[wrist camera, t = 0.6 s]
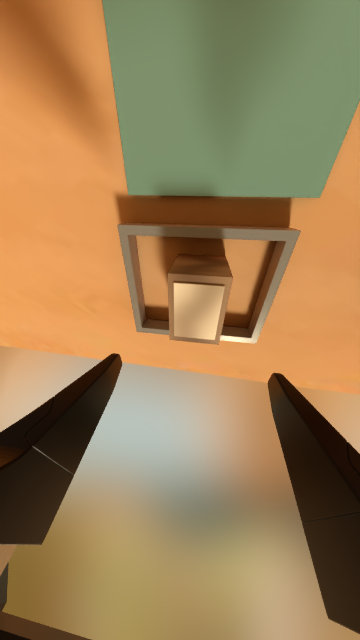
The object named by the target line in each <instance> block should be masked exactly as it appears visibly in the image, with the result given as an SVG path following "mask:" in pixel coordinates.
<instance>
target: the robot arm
mask: <svg viewBox="0 0 360 640" xmlns="http://www.w3.org/2000/svg"><path fill="white" fill-rule="evenodd" d="M121 367H122V361H121V357H120V355H119V354H115V353H113V354H111V355H109V356H108V357H107V358H105V359H104V360H103V361H102V362H100V363H99V364H97V365H96V366H94V367H93V368H92V369H91V370H89V371H88V372H86V373H85V374H84V375H82V376H81V377H80V378H78V379H77V380H75V381H74V382H73V383H71V384H70V385H69V386H67V387H66V388H64V389H63V390H62V391H60V392H59V393H58V394H56V395H55V397H52V398H51V399H49V400H48V401H47V402H45V403H44V404H43V405H41V406H40V407H38V408H37V409H35V410H34V411H32V412H31V413H29V414H28V415H26V416H25V417H23V418H22V419H20V420H19V421H17V422H16V423H14V424H13V425H11V426H9V427H8V428H6V429H5V430H3V431H2V432H0V640H91V639H87V638H84V637H81V636H77V635H74V634H71V633H68V632H65V631H62V630H58V629H55V628H52V627H49V626H46V625H43V624H40V623H36V622H33V621H30V620H27V619H23V618H20V617H17V616H14V615H11V614H8V613H4V612H2V610H3V608H4V606H5V604H6V602H7V582H8V581H7V580H8V561H9V559H10V557H11V556H12V554H13V552H14V550H15V549H16V547H17V545H41V544H42V543H43V541H44V539H45V537H46V535H47V533H48V531H49V528H50V526H51V524H52V522H53V520H54V517H55V515H56V513H57V511H58V509H59V507H60V505H61V502H62V500H63V498H64V496H65V494H66V491H67V489H68V487H69V485H70V483H71V481H72V479H73V477H74V474H75V472H76V470H77V468H78V465H79V464H80V461H81V459H82V457H83V455H84V453H85V450H86V448H87V446H88V444H89V442H90V440H91V437H92V435H93V433H94V431H95V429H96V427H97V425H98V423H99V420H100V418H101V416H102V414H103V412H104V410H105V407H106V405H107V403H108V401H109V399H110V397H111V395H112V392H113V390H114V387H115V384H116V382H117V379H118V376H119V373H120V370H121ZM268 389H269V395H270V402H271V408H272V413H273V418H274V421H275V425H276V429H277V432H278V436H279V439H280V443H281V447H282V451H283V454H284V458H285V461H286V465H287V469H288V473H289V476H290V480H291V484H292V487H293V491H294V495H295V499H296V502H297V506H298V510H299V513H300V517H301V520H302V522H303V523H302V525H303V528H304V532H305V536H306V539H307V542H308V547H309V550H310V554H311V558H312V561H313V565H314V569H315V573H316V576H317V580H318V583H319V587H320V591H321V595H322V598H323V602H324V605H325V609H326V613H327V616H328V618H329V619H330V620H332V621H334V622H336V623H338V624H340V625H342V626H344V627H346V628H348V629H350V630H352V631H354V632H356V633H358V634H360V454H359V453H358V452H357V451H356V450H355V449H354V448H353V447H352V446H351V444H349V443H348V442H347V441H346V439H345V438H343V436H342V435H340V433H339V432H338V431H337V430H336V429H335V428H334V427H333V426H332V425H331V424H330V423H329V422H328V421H327V420H326V419H325V418H324V417H323V416H322V415H321V414H320V413H319V412H318V411H317V410H316V409H315V408H314V407H313V405H311V403H310V402H309V401H308V400H306V398H305V397H304V396H303V395H302V394H301V393H300V392H299V391H298V390H297V389H296V388H295V387H294V386H293V385H292V384H291V383H290V382H289V381H288V380H287V379H286V378H285V377H284V376H283V375H282V374H280V373H273V374H272V375H271V377H270V379H269V381H268Z"/></svg>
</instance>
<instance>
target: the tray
mask: <svg viewBox="0 0 360 640" xmlns="http://www.w3.org/2000/svg"><path fill="white" fill-rule="evenodd" d="M118 231H119V236H120V242H121V247H122V253H123V258H124V264H125V269H126V275H127V280H128V286H129V291H130V297H131V302H132V308H133V313H134V319H135V324H136V330H137V332H144V333H154V334H164V335H169V321H162V320H151V319H146V312H145V305H144V297H143V289H142V282H141V274H140V266H139V259H138V251H137V243H136V236H135V235H141V236H167V237H192V238H218V239H243V240H269V241H277V242H276V245H275V248H274V251H273V254H272V257H271V260H270V263H269V266H268V269H267V272H266V275H265V278H264V281H263V284H262V287H261V290H260V293H259V297H258V300H257V303H256V306H255V309H254V312H253V315H252V318H251V321H250V324H249V327H248V328H239V327H228V326H223V327H222V332H221V337H220V340H225V341H235V342H245V343H255V344H256V343H257V340H258V338H259V335H260V333H261V330H262V328H263V325H264V322H265V320H266V317H267V315H268V312H269V310H270V307H271V305H272V302H273V300H274V297H275V295H276V292H277V290H278V287H279V285H280V282H281V280H282V277H283V275H284V272H285V270H286V267H287V265H288V262H289V259H290V257H291V254H292V252H293V249H294V247H295V244H296V242H297V239H298V237H299V234H300V232H301V231H300V230H296V229H293V228H282V227H250V226H218V225H187V224H155V223H122V224H118Z"/></svg>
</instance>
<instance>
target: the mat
mask: <svg viewBox="0 0 360 640" xmlns="http://www.w3.org/2000/svg"><path fill="white" fill-rule="evenodd" d="M102 2H103V9H104V16H105V24H106V31H107V39H108V46H109V54H110V61H111V68H112V76H113V83H114V91H115V98H116V106H117V113H118V120H119V128H120V135H121V143H122V150H123V157H124V165H125V172H126V180H127V187H128V195H159V196H229V197H299V198H320V196H321V193H322V191H323V189H324V186H325V184H326V181H327V179H328V176H329V174H330V172H331V169H332V167H333V164H334V162H335V160H336V157H337V155H338V152H339V150H340V147H341V145H342V143H343V140H344V138H345V135H346V133H347V130H348V128H349V126H350V123H351V121H352V118H353V116H354V114H355V111H356V109H357V106H358V104H359V101H360V0H102Z"/></svg>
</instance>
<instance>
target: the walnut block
mask: <svg viewBox="0 0 360 640" xmlns="http://www.w3.org/2000/svg"><path fill="white" fill-rule="evenodd" d="M232 280H233V276H232V273H231V270H230V267H229V265H228V262H227V259H226V256H207V255H187V254H178V256H177V258H176V259H175V261H174V263H173V265H172V266H171V268H170V270H169V272H168V302H169V335H170V340H177V341H187V342H196V343H206V344H216V345H219V341H220V337H221V332H222V327H223V323H224V318H225V313H226V308H227V304H228V299H229V294H230V290H231V285H232Z"/></svg>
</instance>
